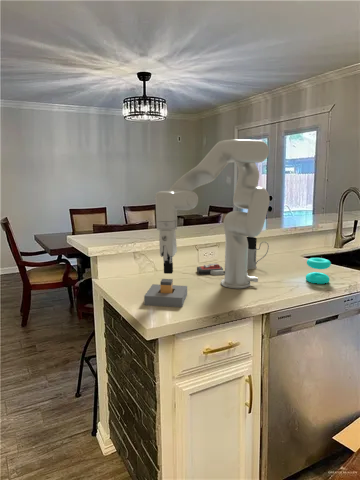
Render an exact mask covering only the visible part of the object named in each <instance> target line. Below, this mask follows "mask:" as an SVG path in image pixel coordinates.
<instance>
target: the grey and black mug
mask: <svg viewBox="0 0 360 480" xmlns="http://www.w3.org/2000/svg"><path fill="white" fill-rule="evenodd" d="M246 237H247V236H246ZM257 239H258V238H256V237H247V241H248V263H247V270H256V269H257V264H258V263H259V261H261V260H262V259H264V258H265V257H266V256H267V254H268V252H269V249H270V248H269V247H270V246H269V243H268V242H267V241H262V242H260V243H259V248H257ZM263 243H265V244H267V250H266V253H265V254H264V255H263V256H262V257H261V258H260V259H257V251H258V250H260V249H261V245H262V244H263Z"/></svg>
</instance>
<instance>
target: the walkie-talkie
mask: <svg viewBox="0 0 360 480" xmlns="http://www.w3.org/2000/svg"><path fill="white" fill-rule="evenodd" d="M196 272H197V274H198V275H201V276H202V275H212V276H223V275H224V276H225V270H224V268H223V267H222V266H220V264H219V263H208V265H206V264H203V265H202V266H196Z"/></svg>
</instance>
